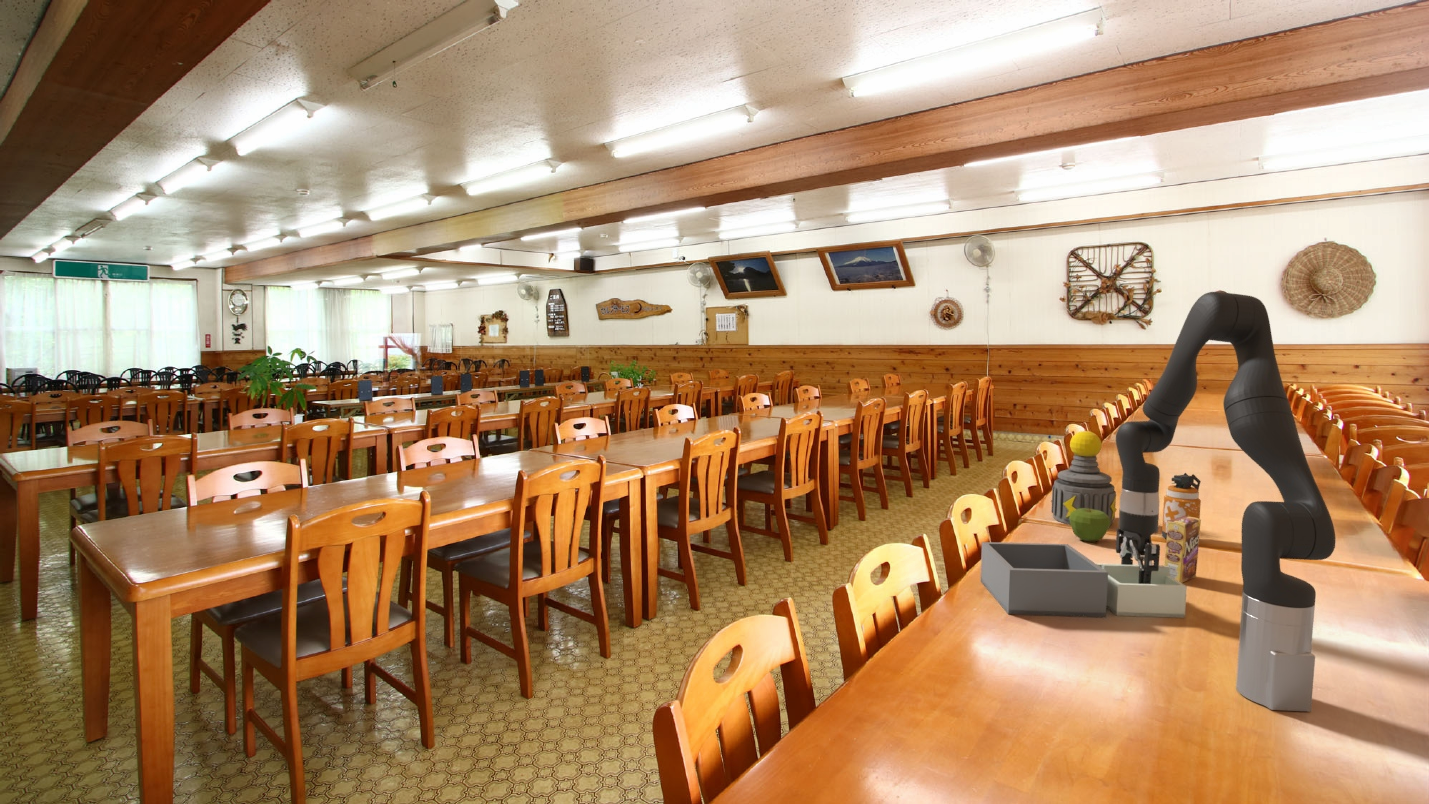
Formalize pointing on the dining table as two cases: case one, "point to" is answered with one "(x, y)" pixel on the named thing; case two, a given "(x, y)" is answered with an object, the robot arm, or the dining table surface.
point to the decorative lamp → (1083, 482)
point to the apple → (1089, 524)
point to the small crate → (1144, 592)
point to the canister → (1181, 500)
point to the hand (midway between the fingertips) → (1135, 580)
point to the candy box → (1182, 547)
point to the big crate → (1043, 579)
